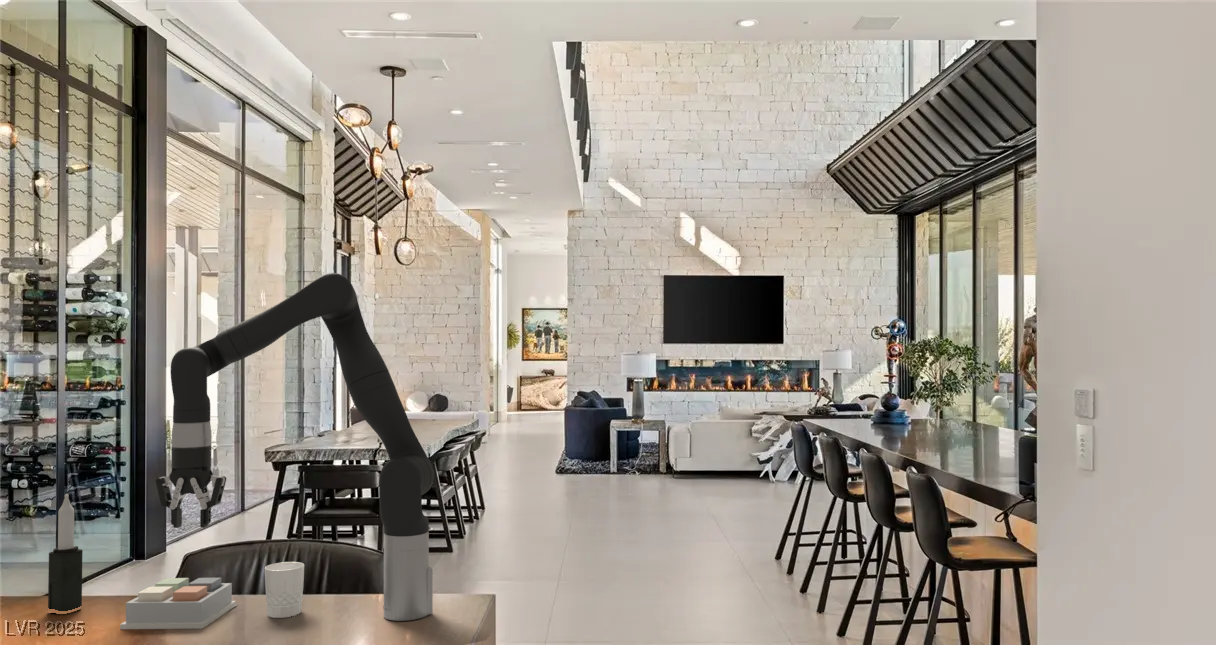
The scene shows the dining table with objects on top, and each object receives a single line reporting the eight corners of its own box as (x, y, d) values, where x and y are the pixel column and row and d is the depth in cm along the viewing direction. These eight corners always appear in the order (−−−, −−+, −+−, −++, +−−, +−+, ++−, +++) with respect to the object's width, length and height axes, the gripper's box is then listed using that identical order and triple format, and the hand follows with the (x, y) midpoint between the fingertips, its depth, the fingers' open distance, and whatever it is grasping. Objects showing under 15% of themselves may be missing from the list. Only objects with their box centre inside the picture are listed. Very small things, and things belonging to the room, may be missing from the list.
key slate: (221, 593, 192) (221, 577, 193) (211, 599, 188) (211, 583, 188) (198, 593, 192) (199, 577, 192) (188, 599, 188) (188, 583, 188)
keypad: (236, 605, 195) (236, 582, 195) (202, 628, 178) (202, 603, 178) (160, 606, 194) (161, 583, 195) (120, 629, 178) (120, 604, 178)
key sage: (188, 593, 192) (188, 577, 192) (178, 599, 188) (178, 583, 188) (166, 593, 192) (166, 578, 192) (155, 599, 188) (155, 583, 188)
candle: (84, 608, 193) (85, 492, 194) (63, 615, 188) (64, 496, 189) (66, 606, 194) (68, 491, 195) (45, 613, 190) (47, 495, 190)
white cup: (310, 608, 192) (310, 561, 192) (293, 619, 184) (294, 570, 184) (275, 608, 192) (275, 561, 193) (257, 618, 185) (257, 570, 185)
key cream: (173, 602, 185) (173, 586, 185) (161, 609, 181) (161, 592, 181) (149, 602, 185) (150, 586, 185) (137, 609, 180) (138, 592, 181)
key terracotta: (207, 602, 185) (207, 586, 186) (196, 608, 181) (196, 592, 181) (183, 602, 185) (184, 586, 185) (172, 608, 181) (172, 592, 181)
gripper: (233, 442, 188) (233, 523, 187) (165, 442, 188) (164, 523, 187) (218, 445, 180) (217, 530, 180) (147, 446, 180) (146, 531, 180)
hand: (190, 526), depth 184 cm, fingers open, 5 cm apart
